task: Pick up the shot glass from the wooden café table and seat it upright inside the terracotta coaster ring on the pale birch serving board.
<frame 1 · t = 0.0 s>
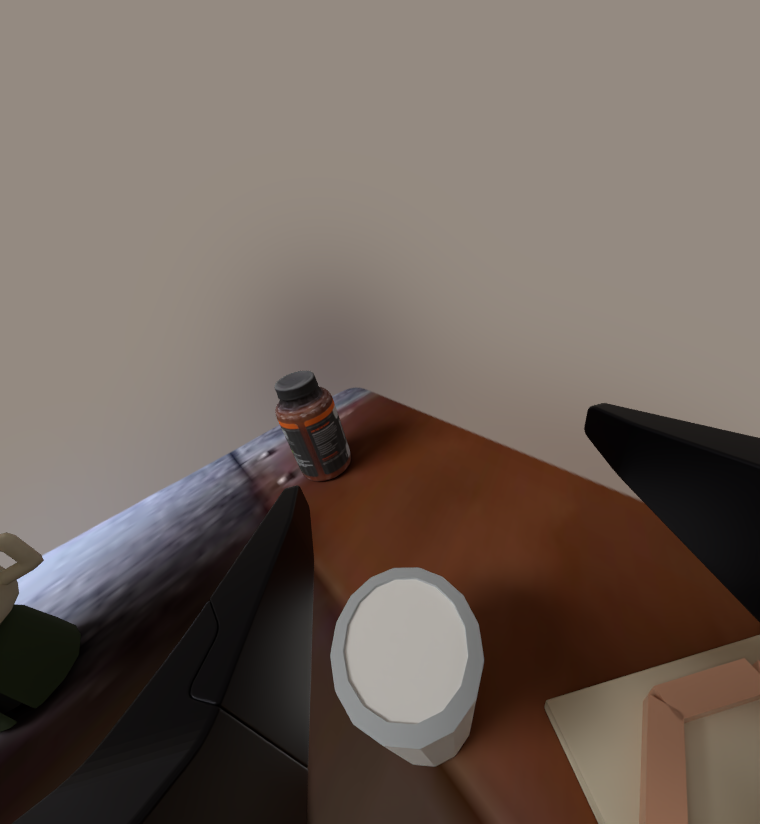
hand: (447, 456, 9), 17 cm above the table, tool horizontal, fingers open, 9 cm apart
shot glass: (423, 694, 18), on the table
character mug: (39, 679, 23), on the table
supplement bottle: (328, 466, 36), on the table
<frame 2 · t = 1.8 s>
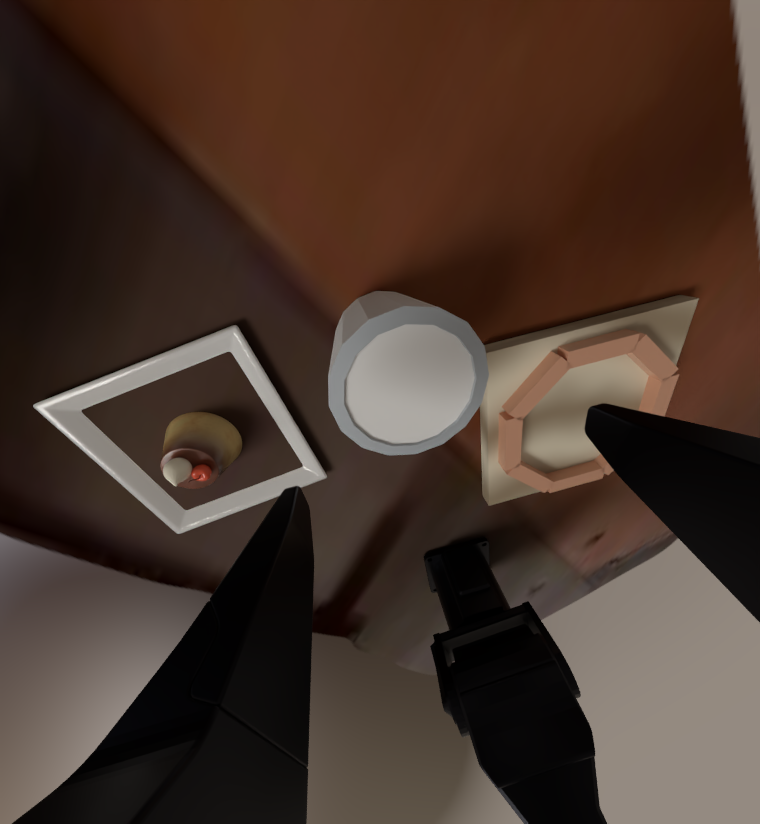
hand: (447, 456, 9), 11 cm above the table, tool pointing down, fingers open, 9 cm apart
shot glass: (381, 338, 19), on the table
coaster ring: (578, 417, 23), resting on serving board
dessert: (208, 435, 21), on the table
serving board: (567, 409, 24), on the table
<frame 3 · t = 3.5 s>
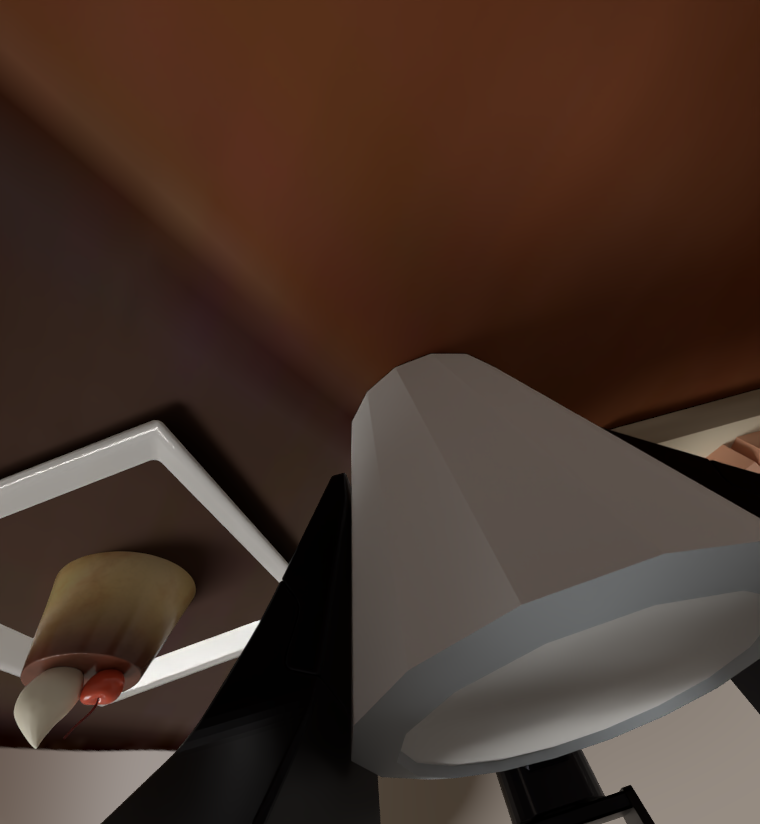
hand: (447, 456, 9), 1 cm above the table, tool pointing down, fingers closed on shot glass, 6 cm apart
shot glass: (432, 429, 11), on the table, touching gripper
coaster ring: (727, 527, 15), resting on serving board
dessert: (139, 571, 12), on the table
serving board: (700, 508, 16), on the table
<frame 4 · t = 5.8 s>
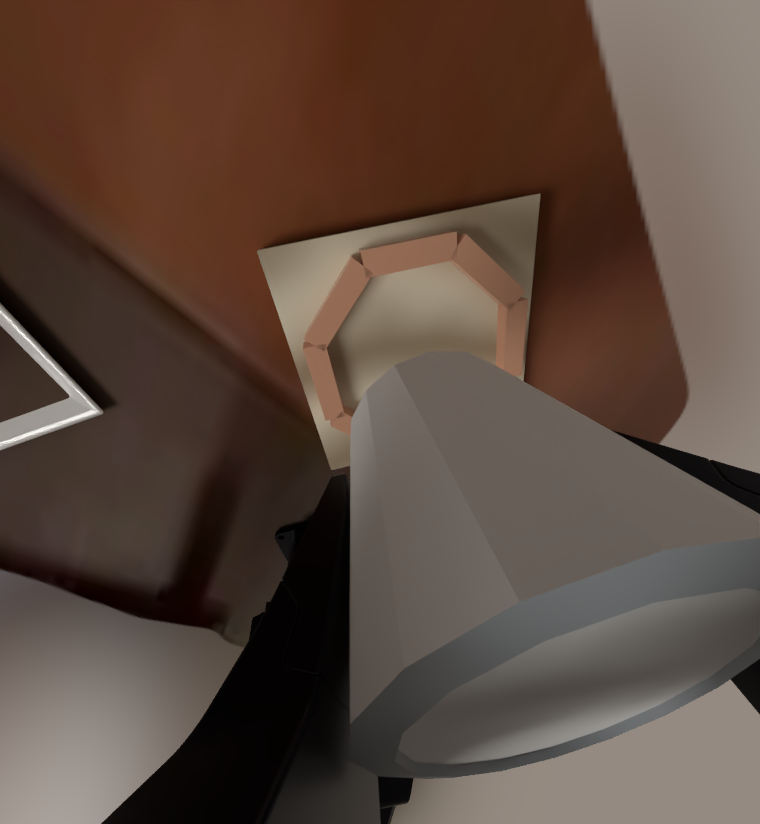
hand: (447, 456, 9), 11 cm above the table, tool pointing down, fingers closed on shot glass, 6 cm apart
shot glass: (432, 427, 11), point 10 cm above the table, touching gripper
coaster ring: (417, 356, 19), resting on serving board
serving board: (412, 349, 20), on the table
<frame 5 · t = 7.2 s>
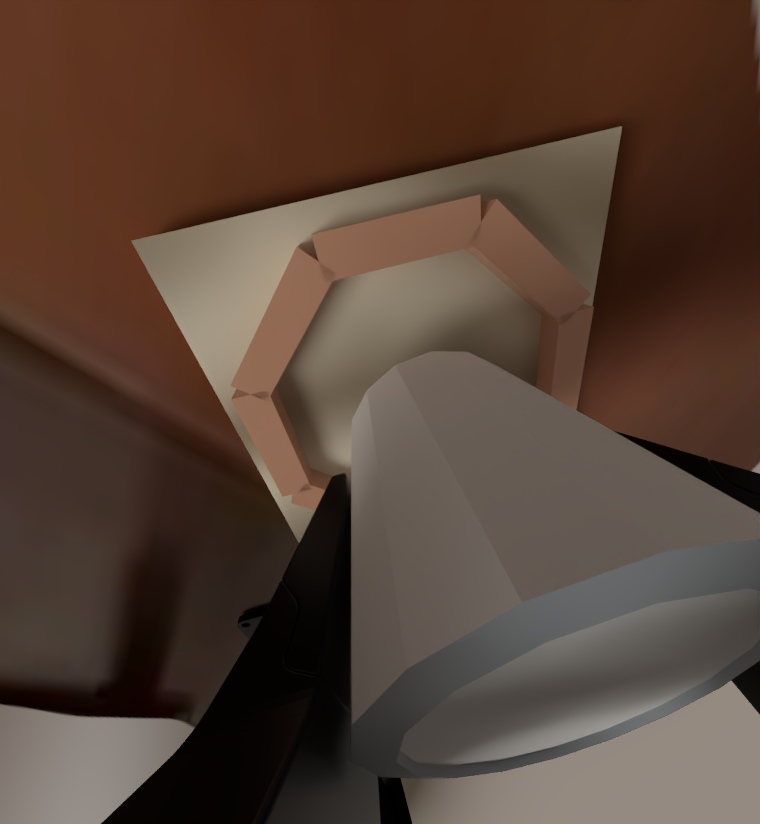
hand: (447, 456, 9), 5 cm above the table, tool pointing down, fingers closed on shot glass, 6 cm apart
shot glass: (432, 428, 11), point 3 cm above the table, touching gripper
coaster ring: (417, 397, 12), resting on serving board
serving board: (410, 384, 13), on the table
when the fingers open (4 cm above the table, at t = 8.3 s): shot glass drops 1 cm, resting on serving board.
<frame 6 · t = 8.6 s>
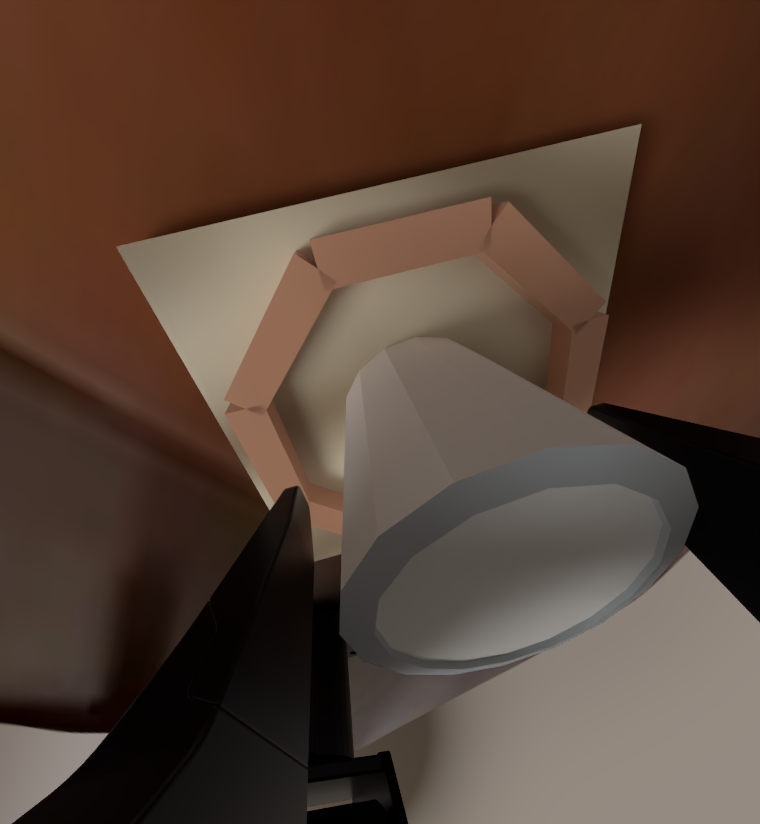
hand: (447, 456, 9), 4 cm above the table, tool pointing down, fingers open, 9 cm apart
shot glass: (418, 406, 12), point 1 cm above the table, touching serving board
coaster ring: (421, 409, 12), resting on serving board
serving board: (413, 394, 13), on the table
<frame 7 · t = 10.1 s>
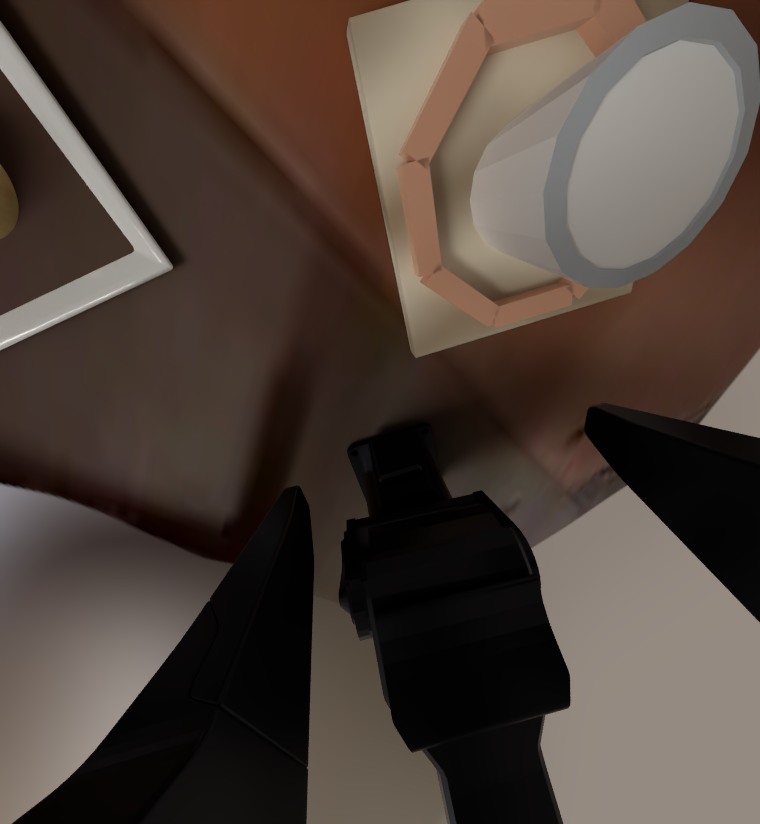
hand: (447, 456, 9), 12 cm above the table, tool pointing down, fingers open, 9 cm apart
shot glass: (521, 190, 16), point 1 cm above the table, touching serving board
coaster ring: (525, 189, 15), resting on serving board
serving board: (513, 191, 16), on the table
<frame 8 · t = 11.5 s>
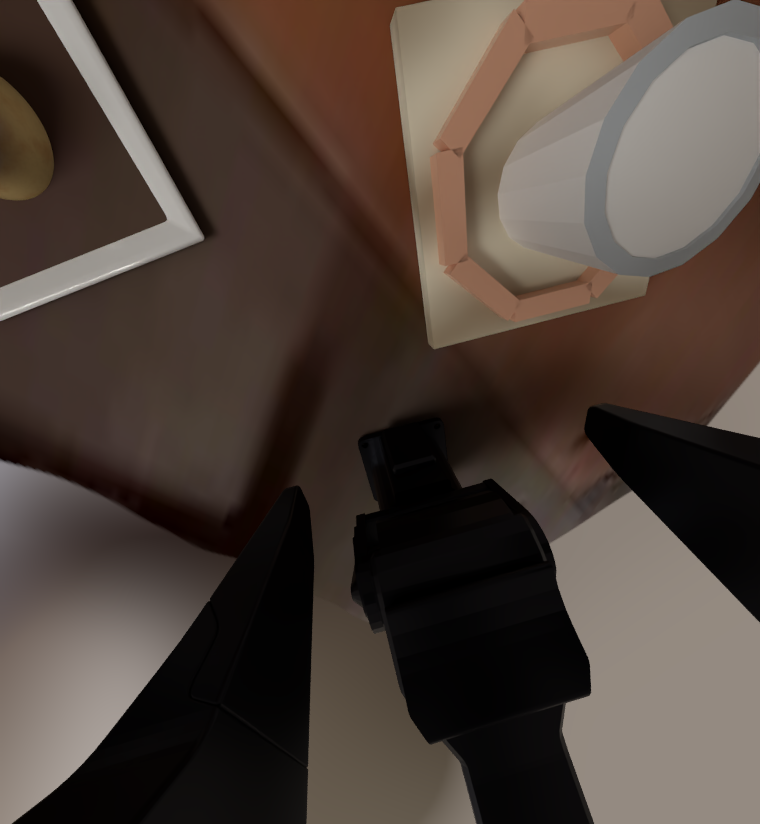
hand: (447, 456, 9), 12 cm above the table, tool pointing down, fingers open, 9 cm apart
shot glass: (547, 187, 16), point 1 cm above the table, touching serving board
coaster ring: (551, 187, 16), resting on serving board
dessert: (0, 137, 13), on the table
serving board: (537, 189, 17), on the table
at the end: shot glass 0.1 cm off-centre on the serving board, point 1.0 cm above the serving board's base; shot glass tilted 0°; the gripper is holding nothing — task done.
